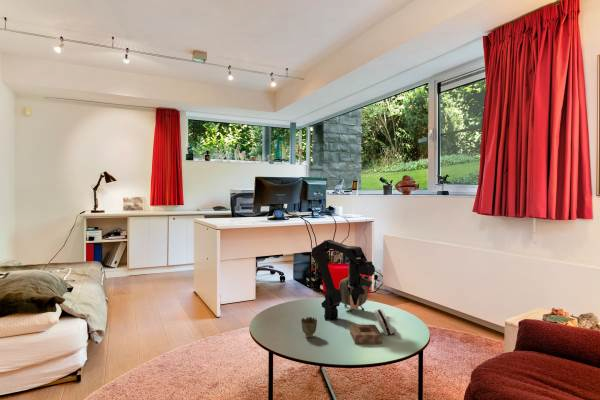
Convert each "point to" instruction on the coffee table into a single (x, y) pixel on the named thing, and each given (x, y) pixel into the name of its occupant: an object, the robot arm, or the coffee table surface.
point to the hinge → (384, 322)
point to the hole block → (365, 334)
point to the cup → (309, 326)
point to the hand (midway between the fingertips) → (354, 303)
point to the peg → (353, 304)
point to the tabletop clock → (346, 294)
